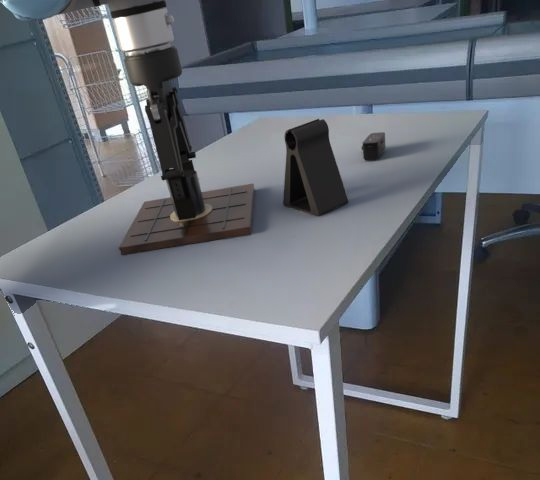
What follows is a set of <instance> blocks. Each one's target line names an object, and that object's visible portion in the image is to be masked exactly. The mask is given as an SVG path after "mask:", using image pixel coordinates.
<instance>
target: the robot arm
mask: <svg viewBox="0 0 540 480" xmlns="http://www.w3.org/2000/svg"><path fill="white" fill-rule="evenodd" d="M0 3H1V4H2V5H3V6H4V8H6V9H7V10H9V11H10V12H11V13H12V15H13V16H14V17H15V18H16V19H17V20H19V21H22V22H27V21H45V20H47V19H51V18H53V17H55V16H60V15H64V14H69V13H73V12H77V11H81V10H86V9H90V8H94V7H96V8H98V7H101V6H103V5H107V7H108V9H109V12H110V17H111V21H112V25H113V29H114V31H115V35H116V39H117V43H118V46H119V50H120V51H121V52H122V53H125V54H126V55H125V56H124V59H123V62H124V66H125V69H126V73H127V76H128V80H129V83H130V84H131V85H132V86H134V87H142V86H144V87H146V95H147V98H146V99H145V102H146V105H144V112H145V114H146V117H147V120H148V122H149V123H148V124H149V126H150V130H151V133H152V138H153V142H154V146H155V149H156V153H157V157H158V162H159V166H160V170H161V175H160V178H161V181H166V180H168V182H169V186H170V190H171V193H172V197H173V200H174V204H175V208H176V211H177V215H178V219H179V220H184V219H190V218H196V212H195V209H194V205H193V201H192V197H191V193H190V189H189V185H188V181H187V177H186V174H185V175H184V171H183V170H195V165H194V163H193V162H194V161H193V159H196V158H197V154H196V151H193V146H192V145H191V141H190V137H189V134H188V133H189V132H188V129H187V126H186V122H185V118H184V114H183V110H182V108H181V104H180V99H179V94H178V89H177V87H176V86H172V84H171V82H170V81H172V80H175V79H178V78H179V77H180V76H182V74H183V69H182V65H181V60H180V56H179V51H178V49H177V48H176V46H174V45H172V43H173V42H174V40H175V36H174V33H173V29H172V25H173V24H175V22H176V21H175V18H174V16H173V15H168V14H169V11H168V6H167V2H166V0H0Z"/></svg>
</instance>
